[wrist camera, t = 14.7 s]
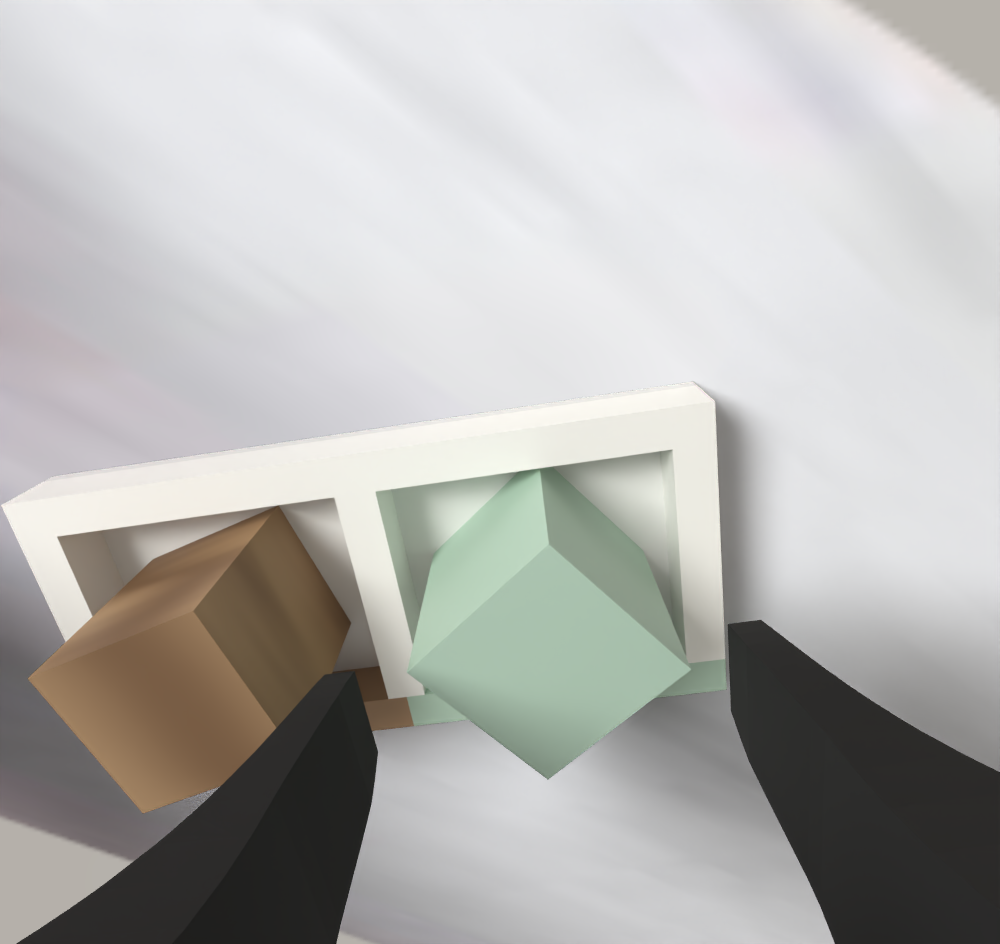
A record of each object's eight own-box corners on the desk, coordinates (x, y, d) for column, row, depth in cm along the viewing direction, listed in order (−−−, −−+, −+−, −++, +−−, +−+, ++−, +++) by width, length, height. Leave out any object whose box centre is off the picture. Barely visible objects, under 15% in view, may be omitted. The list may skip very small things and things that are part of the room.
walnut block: (231, 669, 19) (142, 813, 15) (152, 559, 18) (27, 678, 13) (351, 623, 19) (298, 758, 14) (278, 505, 17) (192, 610, 13)
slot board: (155, 713, 20) (121, 760, 19) (52, 476, 17) (1, 505, 16) (706, 646, 19) (726, 689, 17) (692, 381, 16) (714, 401, 15)
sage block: (433, 553, 18) (406, 672, 13) (537, 453, 17) (548, 544, 12) (538, 639, 19) (548, 779, 14) (643, 550, 18) (691, 669, 13)
